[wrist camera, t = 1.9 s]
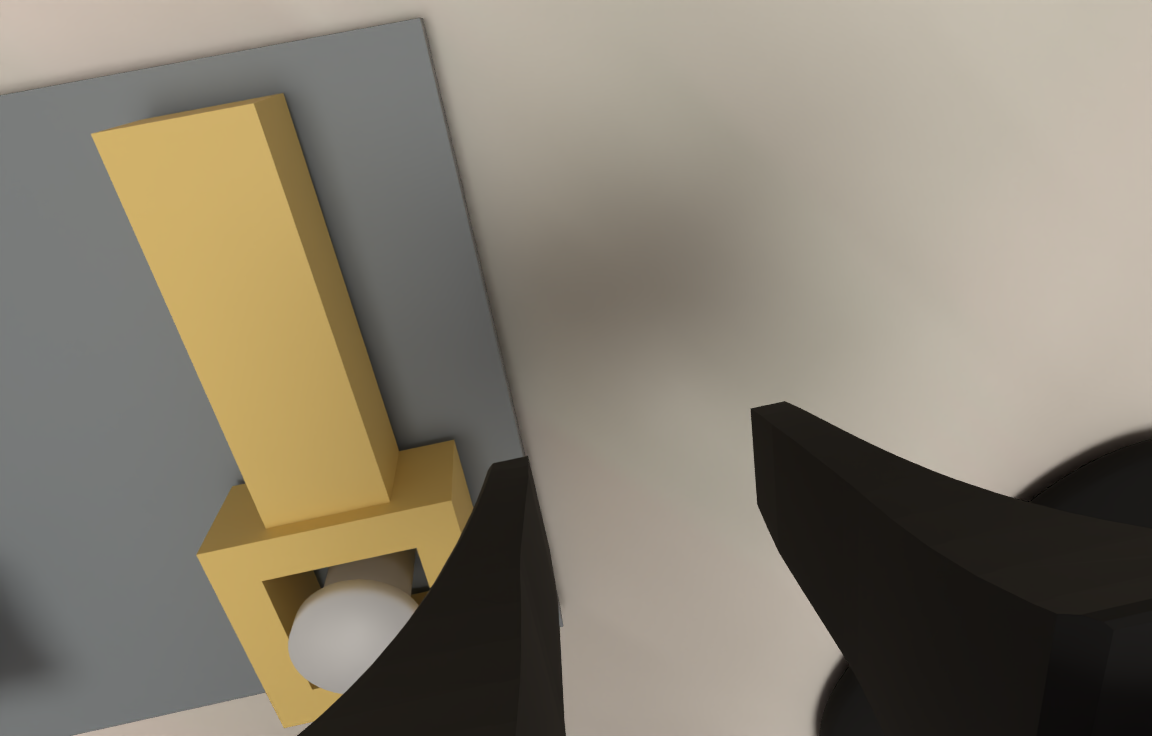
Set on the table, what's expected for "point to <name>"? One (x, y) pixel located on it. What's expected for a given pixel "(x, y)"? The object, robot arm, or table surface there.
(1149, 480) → the desk fan
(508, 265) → the table surface
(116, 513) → the base
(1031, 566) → the robot arm
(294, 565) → the link
